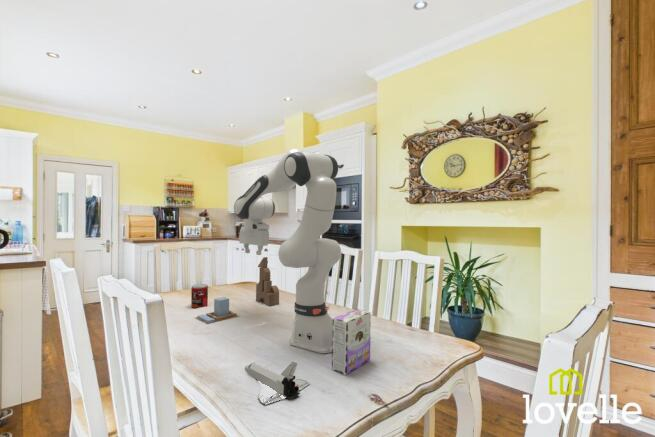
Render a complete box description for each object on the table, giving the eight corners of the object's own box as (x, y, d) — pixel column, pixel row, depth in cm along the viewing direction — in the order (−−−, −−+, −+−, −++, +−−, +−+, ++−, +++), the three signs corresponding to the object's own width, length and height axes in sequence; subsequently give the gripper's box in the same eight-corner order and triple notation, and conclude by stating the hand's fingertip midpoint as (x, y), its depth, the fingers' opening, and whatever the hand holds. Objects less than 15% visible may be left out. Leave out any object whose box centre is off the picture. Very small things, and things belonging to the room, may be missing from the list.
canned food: (188, 308, 168) (188, 286, 168) (198, 304, 176) (198, 283, 176) (200, 309, 166) (200, 287, 166) (210, 305, 174) (210, 284, 173)
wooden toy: (279, 304, 177) (280, 257, 177) (269, 306, 173) (269, 258, 173) (264, 298, 189) (265, 255, 189) (254, 300, 184) (254, 255, 184)
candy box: (356, 355, 114) (356, 308, 114) (370, 360, 110) (371, 311, 110) (331, 369, 103) (331, 317, 103) (346, 375, 99) (347, 321, 99)
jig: (240, 318, 152) (240, 313, 152) (206, 327, 140) (206, 321, 140) (226, 313, 160) (226, 308, 160) (194, 320, 148) (194, 315, 148)
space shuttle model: (265, 361, 109) (266, 331, 109) (318, 390, 92) (318, 355, 92) (222, 378, 98) (222, 344, 98) (272, 414, 81) (272, 373, 80)
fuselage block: (229, 316, 152) (229, 298, 152) (219, 318, 148) (219, 300, 148) (224, 314, 155) (224, 297, 155) (214, 316, 151) (214, 298, 151)
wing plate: (214, 321, 144) (214, 319, 144) (208, 323, 142) (208, 320, 142) (203, 316, 151) (203, 314, 151) (197, 317, 148) (197, 315, 148)
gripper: (235, 224, 163) (235, 252, 163) (260, 225, 149) (259, 256, 149) (246, 224, 168) (246, 251, 168) (271, 225, 154) (271, 255, 154)
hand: (253, 253), depth 159 cm, fingers open, 8 cm apart
